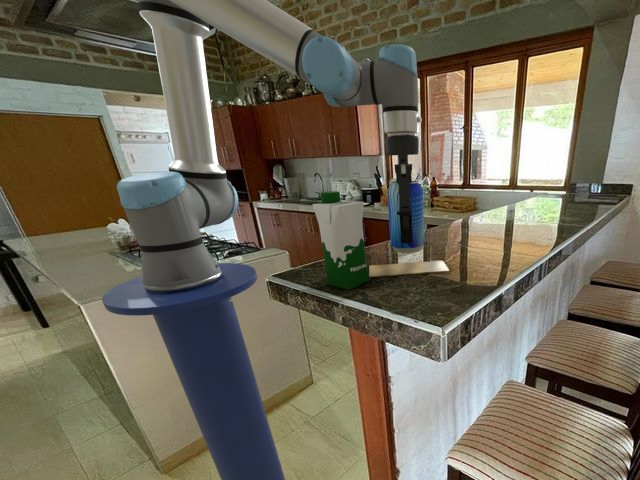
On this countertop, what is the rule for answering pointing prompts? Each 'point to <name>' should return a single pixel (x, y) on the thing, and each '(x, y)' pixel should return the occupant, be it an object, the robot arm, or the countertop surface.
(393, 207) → the beer can
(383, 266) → the mat
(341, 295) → the countertop surface
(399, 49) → the robot arm
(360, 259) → the milk carton
